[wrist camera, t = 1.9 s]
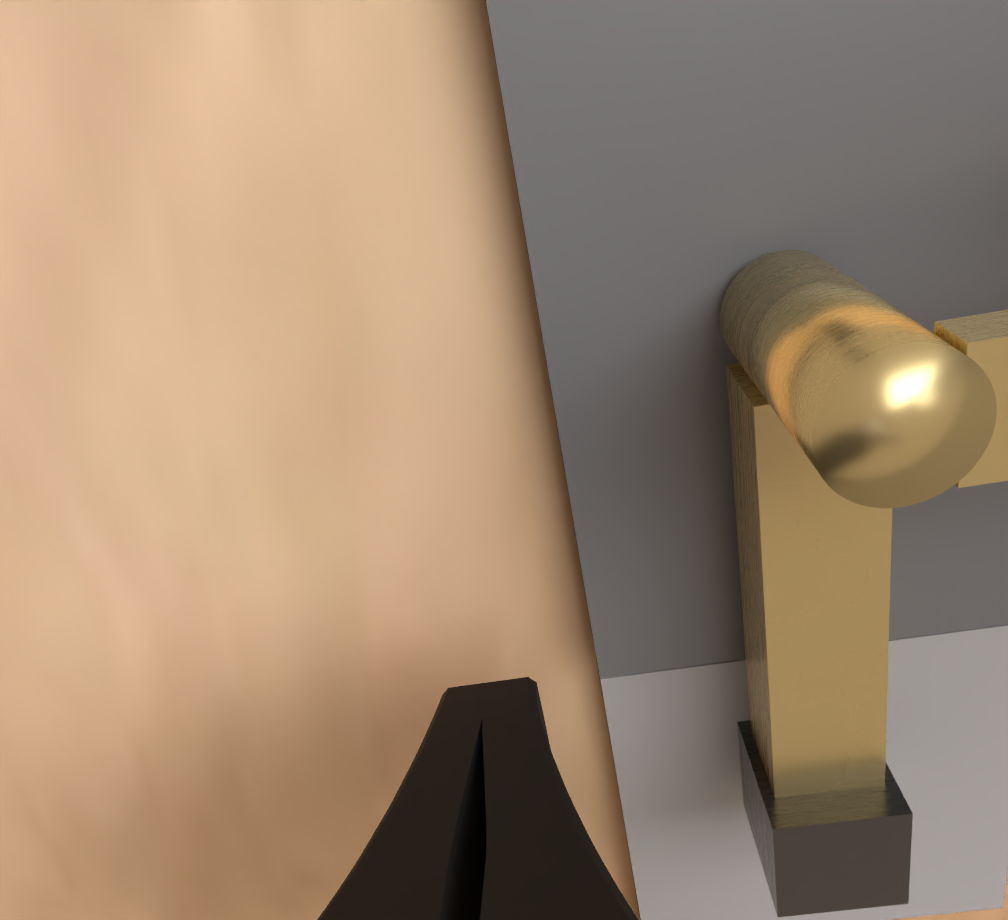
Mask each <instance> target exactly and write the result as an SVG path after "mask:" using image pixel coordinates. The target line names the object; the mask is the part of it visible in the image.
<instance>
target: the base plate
mask: <svg viewBox="0 0 1008 920" xmlns="http://www.w3.org/2000/svg"><path fill="white" fill-rule="evenodd" d="M486 5H487V11H488V17H489V23H490V29H491V35H492V40H493V46H494V52H495V58H496V64H497V70H498V76H499V82H500V88H501V94H502V100H503V106H504V112H505V118H506V124H507V130H508V136H509V141H510V147H511V153H512V159H513V165H514V171H515V177H516V183H517V189H518V195H519V201H520V207H521V213H522V219H523V225H524V231H525V237H526V242H527V248H528V254H529V260H530V266H531V272H532V278H533V284H534V290H535V296H536V302H537V308H538V314H539V320H540V326H541V332H542V337H543V343H544V349H545V355H546V361H547V367H548V373H549V379H550V385H551V391H552V397H553V403H554V409H555V415H556V421H557V427H558V433H559V438H560V444H561V450H562V456H563V462H564V468H565V474H566V480H567V486H568V492H569V498H570V504H571V510H572V516H573V522H574V528H575V533H576V539H577V545H578V551H579V557H580V563H581V569H582V575H583V581H584V587H585V593H586V599H587V605H588V611H589V617H590V623H591V629H592V634H593V640H594V646H595V652H596V658H597V664H598V670H599V676H600V678H604V677H611V676H619V675H626V674H634V673H641V672H649V671H656V670H664V669H671V668H679V667H687V666H694V665H702V664H709V663H717V662H724V661H732V660H739V659H746V653H745V639H744V624H743V610H742V595H741V580H740V566H739V551H738V537H737V522H736V507H735V493H734V478H733V463H732V449H731V434H730V420H729V405H728V390H727V376H726V365H730V364H736V363H739V361H738V360H737V359H736V357H735V356H734V354H733V353H732V352H731V350H730V349H729V347H728V346H727V344H726V342H725V340H724V338H723V335H722V331H721V325H720V311H721V305H722V301H723V298H724V296H725V293H726V291H727V289H728V287H729V286H730V284H731V282H732V281H733V280H734V278H735V277H736V276H737V275H738V274H739V272H740V271H741V270H742V269H744V268H745V267H746V266H747V265H748V264H750V263H751V262H753V261H754V260H756V259H758V258H760V257H761V256H763V255H766V254H769V253H771V252H775V251H780V250H788V249H794V250H803V251H807V252H811V253H814V254H816V255H818V256H820V257H822V258H823V259H824V260H826V261H827V262H829V263H830V264H832V265H833V266H835V267H836V268H838V269H839V270H841V271H842V272H844V273H845V274H847V275H848V276H850V277H851V278H853V279H854V280H856V281H857V282H859V283H860V284H861V285H863V286H864V287H866V288H867V289H869V290H870V291H872V292H873V293H875V294H876V295H878V296H879V297H881V298H882V299H884V300H885V301H887V302H888V303H890V304H891V305H893V306H894V307H896V308H897V309H898V310H900V311H901V312H903V313H904V314H906V315H907V316H909V317H910V318H912V319H913V320H915V321H916V322H918V323H919V324H921V325H922V326H924V327H925V328H927V329H928V330H930V331H931V332H932V333H934V327H935V321H941V320H947V319H953V318H959V317H965V316H971V315H978V314H984V313H990V312H996V311H1002V310H1008V0H486ZM1004 624H1008V481H1003V482H996V483H989V484H982V485H976V486H969V487H962V488H958V487H957V486H956V485H953V486H952V487H951V488H949V489H948V490H946V491H944V492H943V493H941V494H939V495H937V496H935V497H933V498H931V499H928V500H926V501H924V502H920V503H917V504H914V505H910V506H905V507H899V508H892V539H891V576H890V613H889V640H890V639H898V638H906V637H913V636H921V635H928V634H936V633H943V632H951V631H958V630H966V629H973V628H981V627H989V626H996V625H1004Z"/></svg>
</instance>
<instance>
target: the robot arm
mask: <svg viewBox="0 0 1008 920" xmlns="http://www.w3.org/2000/svg"><path fill="white" fill-rule="evenodd" d="M318 920H638V919H637V917H636V916H635V914H634V913H633V911H632V909H631V908H630V906H629V905H628V903H627V901H626V900H625V898H624V897H623V895H622V893H621V892H620V890H619V889H618V887H617V885H616V884H615V882H614V880H613V878H612V877H611V875H610V873H609V872H608V870H607V868H606V867H605V865H604V863H603V861H602V859H601V858H600V856H599V854H598V852H597V850H596V849H595V847H594V845H593V843H592V841H591V839H590V837H589V835H588V833H587V831H586V829H585V827H584V825H583V823H582V821H581V819H580V817H579V815H578V813H577V811H576V809H575V807H574V805H573V803H572V801H571V798H570V796H569V794H568V792H567V790H566V787H565V785H564V782H563V780H562V778H561V775H560V773H559V770H558V768H557V765H556V763H555V760H554V758H553V755H552V752H551V749H550V744H549V739H548V735H547V730H546V725H545V721H544V716H543V711H542V706H541V702H540V697H539V692H538V687H537V683H536V682H535V681H533V680H532V679H530V678H529V677H525V678H518V679H511V680H503V681H496V682H489V683H481V684H474V685H467V686H459V687H452V688H448V689H447V690H446V691H445V693H444V694H443V695H442V698H441V700H440V703H439V705H438V708H437V710H436V712H435V715H434V717H433V719H432V722H431V724H430V726H429V729H428V731H427V733H426V735H425V737H424V740H423V742H422V744H421V746H420V748H419V750H418V752H417V754H416V756H415V759H414V761H413V763H412V765H411V766H410V768H409V770H408V772H407V774H406V776H405V778H404V780H403V782H402V784H401V786H400V788H399V790H398V792H397V794H396V795H395V797H394V799H393V801H392V803H391V805H390V807H389V808H388V810H387V812H386V814H385V815H384V817H383V819H382V821H381V822H380V824H379V826H378V827H377V829H376V831H375V832H374V834H373V836H372V837H371V839H370V841H369V843H368V844H367V846H366V848H365V849H364V851H363V853H362V854H361V856H360V858H359V859H358V861H357V862H356V864H355V866H354V867H353V869H352V870H351V872H350V873H349V875H348V876H347V878H346V879H345V881H344V882H343V884H342V885H341V887H340V888H339V890H338V891H337V893H336V894H335V896H334V897H333V898H332V900H331V901H330V903H329V904H328V906H327V907H326V908H325V910H324V911H323V913H322V914H321V916H320V917H319V918H318Z"/></svg>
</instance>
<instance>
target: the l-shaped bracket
mask: <svg viewBox="0 0 1008 920" xmlns="http://www.w3.org/2000/svg"><path fill="white" fill-rule="evenodd" d="M720 325H721V331H722V335H723V338H724V340H725V342H726V344H727V346H728V347H729V349H730V350H731V352H732V353H733V354H734V356H735V357H736V359H737V360H738V361H739V363H736V364H730V365H726V376H727V390H728V405H729V420H730V434H731V449H732V463H733V478H734V493H735V507H736V522H737V537H738V551H739V566H740V580H741V595H742V610H743V624H744V639H745V653H746V668H747V683H748V697H749V712H750V720H747V721H739V722H737V727H738V740H739V752H740V765H741V778H742V791H743V804H744V808H745V811H746V814H747V817H748V821H749V824H750V827H751V831H752V834H753V837H754V841H755V844H756V847H757V851H758V854H759V857H760V861H761V864H762V867H763V870H764V874H765V877H766V880H767V884H768V887H769V890H770V894H771V897H772V900H773V904H774V907H775V910H776V913H777V917H786V916H796V915H806V914H815V913H825V912H834V911H844V910H854V909H863V908H873V907H882V906H892V905H902V904H908V903H909V882H910V862H911V841H912V820H913V813H912V811H911V809H910V807H909V805H908V803H907V801H906V800H905V798H904V796H903V794H902V792H901V790H900V788H899V786H898V784H897V782H896V780H895V778H894V777H893V775H892V773H891V771H890V769H889V767H888V765H887V763H886V725H887V688H888V650H889V613H890V576H891V539H892V508H899V507H905V506H910V505H914V504H917V503H920V502H924V501H926V500H928V499H931V498H933V497H935V496H937V495H939V494H941V493H943V492H944V491H946V490H948V489H949V488H951V487H952V486H953V485H956V486H957V487H958V488H962V487H969V486H976V485H982V484H989V483H996V482H1003V481H1008V310H1002V311H996V312H990V313H984V314H978V315H971V316H965V317H959V318H953V319H947V320H941V321H935V327H934V333H932V332H931V331H930V330H928V329H927V328H925V327H924V326H922V325H921V324H919V323H918V322H916V321H915V320H913V319H912V318H910V317H909V316H907V315H906V314H904V313H903V312H901V311H900V310H898V309H897V308H896V307H894V306H893V305H891V304H890V303H888V302H887V301H885V300H884V299H882V298H881V297H879V296H878V295H876V294H875V293H873V292H872V291H870V290H869V289H867V288H866V287H864V286H863V285H861V284H860V283H859V282H857V281H856V280H854V279H853V278H851V277H850V276H848V275H847V274H845V273H844V272H842V271H841V270H839V269H838V268H836V267H835V266H833V265H832V264H830V263H829V262H827V261H826V260H824V259H823V258H822V257H820V256H818V255H816V254H814V253H811V252H807V251H803V250H794V249H788V250H780V251H775V252H771V253H769V254H766V255H763V256H761V257H760V258H758V259H756V260H754V261H753V262H751V263H750V264H748V265H747V266H746V267H745V268H744V269H742V270H741V271H740V272H739V274H738V275H737V276H736V277H735V278H734V280H733V281H732V282H731V284H730V286H729V287H728V289H727V291H726V293H725V296H724V298H723V301H722V305H721V311H720Z"/></svg>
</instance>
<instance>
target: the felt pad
mask: <svg viewBox="0 0 1008 920" xmlns="http://www.w3.org/2000/svg"><path fill="white" fill-rule="evenodd" d="M600 680H601V686H602V692H603V698H604V704H605V710H606V715H607V721H608V727H609V733H610V739H611V745H612V751H613V757H614V763H615V769H616V775H617V781H618V787H619V793H620V799H621V805H622V811H623V817H624V823H625V828H626V834H627V840H628V846H629V852H630V858H631V864H632V870H633V876H634V882H635V888H636V894H637V900H638V906H639V912H640V918H641V920H890V919H899V918H909V917H919V916H929V915H938V914H948V913H958V912H968V911H977V910H987V909H997V908H1003V905H1004V897H1005V889H1006V881H1007V873H1008V624H1004V625H996V626H989V627H981V628H973V629H966V630H958V631H951V632H943V633H936V634H928V635H921V636H913V637H906V638H898V639H890V640H889V650H888V688H887V725H886V763H887V765H888V767H889V769H890V771H891V773H892V775H893V777H894V778H895V780H896V782H897V784H898V786H899V788H900V790H901V792H902V794H903V796H904V798H905V800H906V801H907V803H908V805H909V807H910V809H911V811H912V813H913V820H912V841H911V862H910V882H909V903H908V904H902V905H892V906H882V907H873V908H863V909H854V910H844V911H834V912H825V913H815V914H806V915H796V916H786V917H777V913H776V910H775V907H774V904H773V900H772V897H771V894H770V890H769V887H768V884H767V880H766V877H765V874H764V870H763V867H762V864H761V861H760V857H759V854H758V851H757V847H756V844H755V841H754V837H753V834H752V831H751V827H750V824H749V821H748V817H747V814H746V811H745V808H744V804H743V791H742V778H741V765H740V752H739V740H738V727H737V722H739V721H747V720H750V712H749V697H748V683H747V668H746V659H739V660H732V661H724V662H717V663H709V664H702V665H694V666H687V667H679V668H671V669H664V670H656V671H649V672H641V673H634V674H626V675H619V676H611V677H604V678H600Z"/></svg>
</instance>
